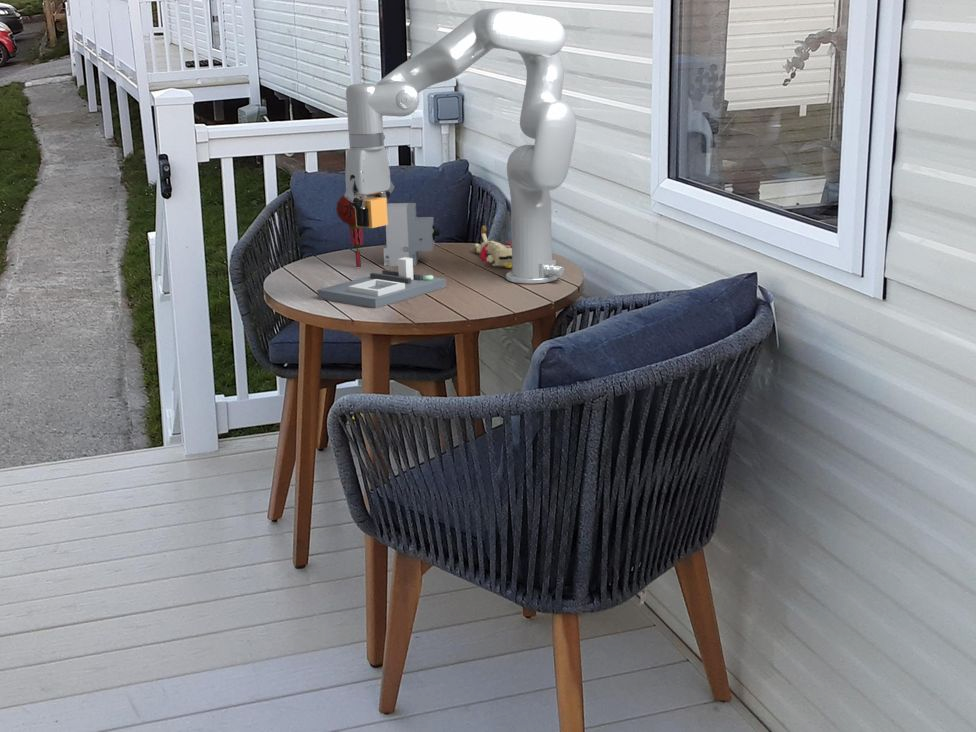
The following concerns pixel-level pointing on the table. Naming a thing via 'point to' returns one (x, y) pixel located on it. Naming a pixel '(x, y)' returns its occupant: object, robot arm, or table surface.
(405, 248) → the circuit breaker
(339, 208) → the lantern
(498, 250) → the cat figure
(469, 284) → the table surface
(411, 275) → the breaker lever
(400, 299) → the panel
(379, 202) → the lockout cap
